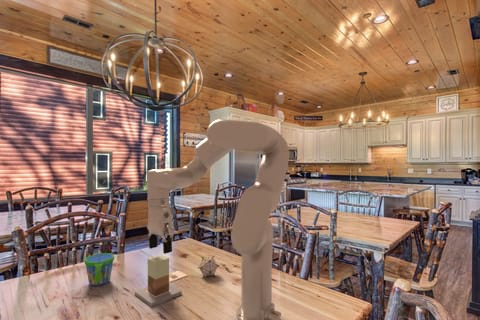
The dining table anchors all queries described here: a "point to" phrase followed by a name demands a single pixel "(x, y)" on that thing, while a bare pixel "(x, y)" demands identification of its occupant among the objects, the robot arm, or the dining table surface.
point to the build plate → (156, 300)
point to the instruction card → (176, 276)
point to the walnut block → (158, 285)
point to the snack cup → (99, 268)
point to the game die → (208, 266)
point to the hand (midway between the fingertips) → (160, 250)
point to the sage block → (158, 266)
